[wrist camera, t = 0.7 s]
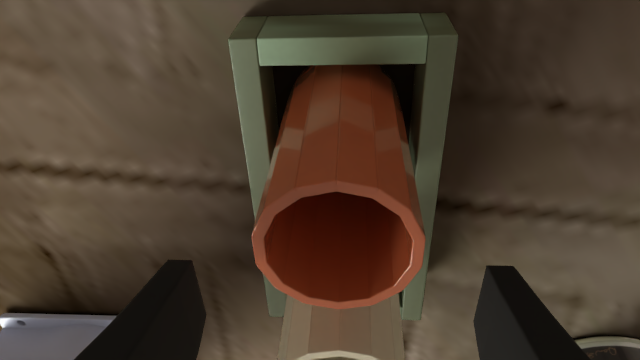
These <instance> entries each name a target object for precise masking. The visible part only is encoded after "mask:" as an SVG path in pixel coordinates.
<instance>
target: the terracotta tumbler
mask: <svg viewBox="0 0 640 360" xmlns="http://www.w3.org/2000/svg"><path fill="white" fill-rule="evenodd" d="M251 239H252V245H253V251H254V257H255V263H256V265H257V267H258V268H259V269H260V270H261V272H262V273H263V274H264V275H265V276H266V278H267V279H268V280H269V281H270V283H271V284H272V285H273V286H274V287H275V288H276V289H278V290H280V291H281V292H283V293H285V294H287V295H289V296H291V297H293V298H294V299H296V300H298V301H300V302H302V303H305V304H309V305H314V306H320V307H326V308H332V309H337V310H338V309H340V310H341V309H349V308H356V307H364V306H372V305H375V304H377V303H379V302H381V301H383V300H385V299H387V298H389V297H391V296H393V295H395V294H397V293H399V292H401V291H402V290H404V289H405V288H406V286H407V285H408V284H409V283H410V281H411V280H412V279H413V278H414V277H415V275H416V274H417V273H418V272H419V270H420V269H421V268H422V266H423V258H424V250H425V241H426V237H425V232H424V226H423V221H422V216H421V210H420V205H419V199H418V194H417V189H416V183H415V178H414V172H413V167H412V162H411V156H410V151H409V146H408V140H407V135H406V129H405V124H404V119H403V113H402V108H401V102H400V99H399V97H398V94H397V90H396V87H395V85H394V83H393V81H392V79H391V78H390V76H389V75H388V74H387V73H386V72H385V71H384V70H383V69H382V68H381V67H380V66H379V65H377V64H367V65H309V66H308V67H307V68H306V69H305V70H303V71H302V73H301V74H300V75H299V76H298V78H297V79H296V81H295V83H294V85H293V87H292V90H291V93H290V96H289V98H288V100H287V104H286V107H285V111H284V115H283V119H282V122H281V126H280V130H279V134H278V137H277V141H276V145H275V148H274V152H273V156H272V160H271V163H270V167H269V171H268V175H267V178H266V182H265V186H264V190H263V193H262V197H261V201H260V205H259V208H258V212H257V216H256V219H255V223H254V227H253V231H252V236H251Z"/></svg>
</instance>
